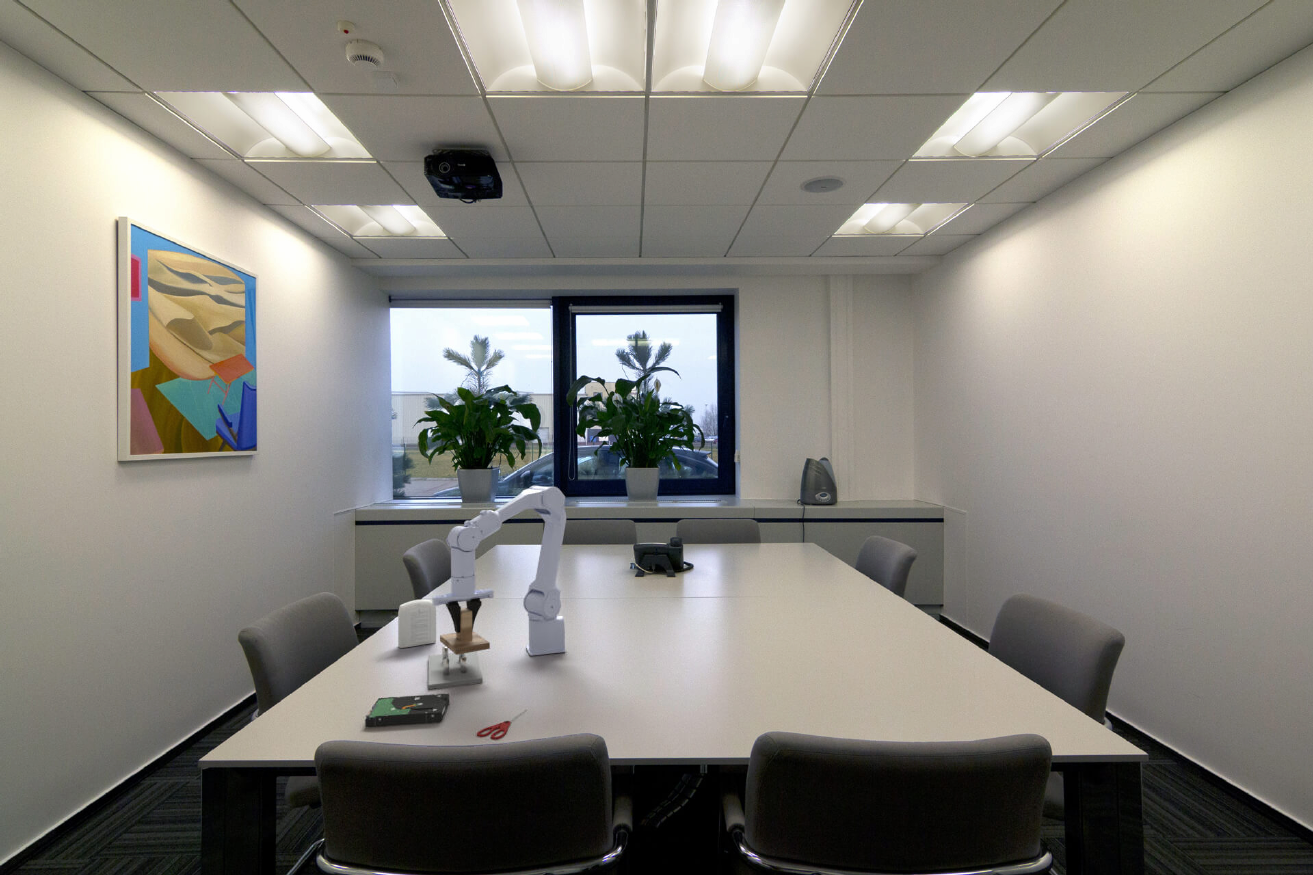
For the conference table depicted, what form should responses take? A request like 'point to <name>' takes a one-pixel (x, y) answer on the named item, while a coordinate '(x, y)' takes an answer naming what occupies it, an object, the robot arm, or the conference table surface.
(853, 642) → the conference table surface
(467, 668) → the peg stand
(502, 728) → the scissors
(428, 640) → the white upright slab
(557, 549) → the robot arm
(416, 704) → the disk drive
